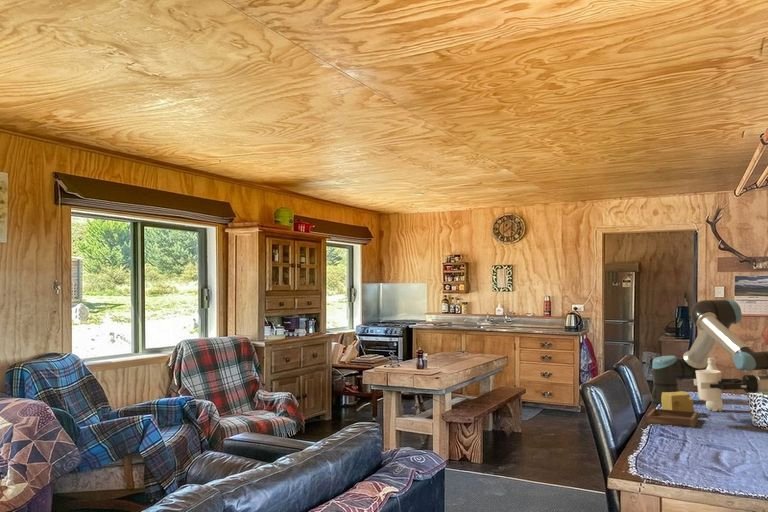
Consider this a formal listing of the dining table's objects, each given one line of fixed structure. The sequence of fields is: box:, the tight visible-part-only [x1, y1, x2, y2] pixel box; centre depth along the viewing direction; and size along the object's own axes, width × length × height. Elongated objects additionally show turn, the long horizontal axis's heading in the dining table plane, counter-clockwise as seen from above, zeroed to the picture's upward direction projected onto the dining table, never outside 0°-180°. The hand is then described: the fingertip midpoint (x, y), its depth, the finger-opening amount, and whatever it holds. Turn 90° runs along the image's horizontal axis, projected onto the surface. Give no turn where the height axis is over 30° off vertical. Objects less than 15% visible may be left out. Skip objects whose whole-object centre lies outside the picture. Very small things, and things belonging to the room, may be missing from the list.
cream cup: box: [695, 370, 722, 402], centre depth 252 cm, size 10×10×12 cm
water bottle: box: [705, 357, 724, 412], centre depth 282 cm, size 7×7×25 cm
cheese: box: [661, 390, 696, 412], centre depth 275 cm, size 10×11×10 cm
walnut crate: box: [645, 408, 699, 429], centre depth 260 cm, size 18×18×4 cm
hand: (697, 383), depth 253 cm, fingers closed on cream cup, 9 cm apart
